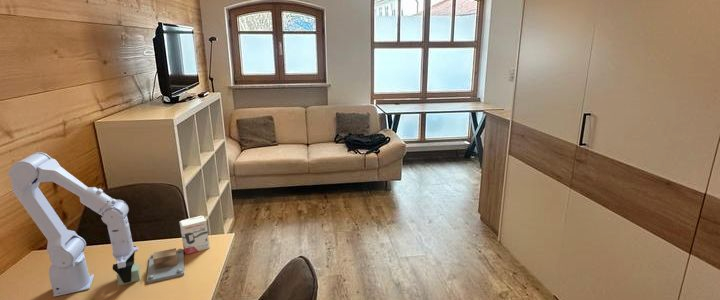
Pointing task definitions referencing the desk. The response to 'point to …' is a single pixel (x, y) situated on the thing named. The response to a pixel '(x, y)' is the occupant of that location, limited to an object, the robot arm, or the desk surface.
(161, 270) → the baseplate
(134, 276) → the sage brick
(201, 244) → the ink box
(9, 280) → the desk surface
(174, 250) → the walnut brick
